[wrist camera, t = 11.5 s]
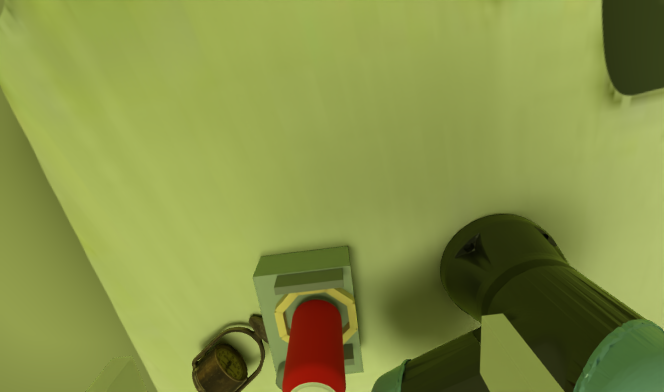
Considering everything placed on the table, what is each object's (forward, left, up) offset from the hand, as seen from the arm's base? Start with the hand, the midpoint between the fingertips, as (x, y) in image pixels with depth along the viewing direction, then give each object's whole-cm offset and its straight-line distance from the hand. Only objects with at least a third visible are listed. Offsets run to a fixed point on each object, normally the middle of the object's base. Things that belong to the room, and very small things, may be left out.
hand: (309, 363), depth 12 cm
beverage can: (+3, +17, -24) cm, 29 cm away
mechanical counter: (+16, +25, -29) cm, 42 cm away
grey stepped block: (+4, +19, -29) cm, 35 cm away
